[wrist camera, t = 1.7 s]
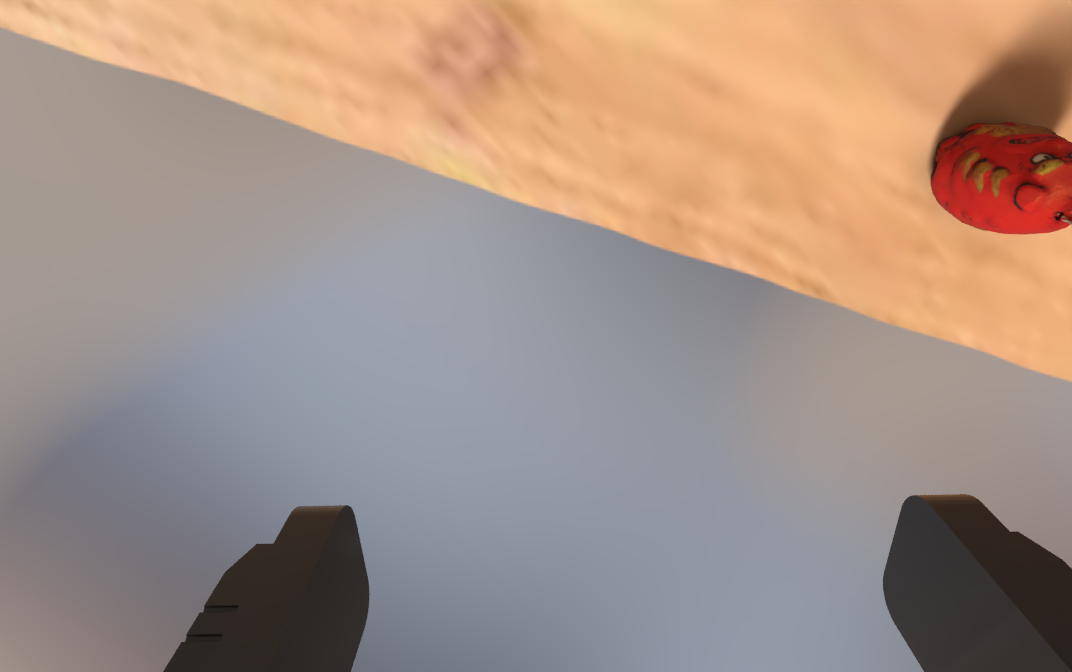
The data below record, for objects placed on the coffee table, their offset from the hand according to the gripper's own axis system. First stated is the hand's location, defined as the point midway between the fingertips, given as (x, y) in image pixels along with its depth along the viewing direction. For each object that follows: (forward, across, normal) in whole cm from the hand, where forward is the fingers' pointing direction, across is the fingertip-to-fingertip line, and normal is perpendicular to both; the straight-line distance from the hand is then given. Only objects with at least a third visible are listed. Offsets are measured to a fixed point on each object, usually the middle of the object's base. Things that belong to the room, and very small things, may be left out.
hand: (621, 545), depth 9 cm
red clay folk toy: (+38, -29, +2) cm, 48 cm away
